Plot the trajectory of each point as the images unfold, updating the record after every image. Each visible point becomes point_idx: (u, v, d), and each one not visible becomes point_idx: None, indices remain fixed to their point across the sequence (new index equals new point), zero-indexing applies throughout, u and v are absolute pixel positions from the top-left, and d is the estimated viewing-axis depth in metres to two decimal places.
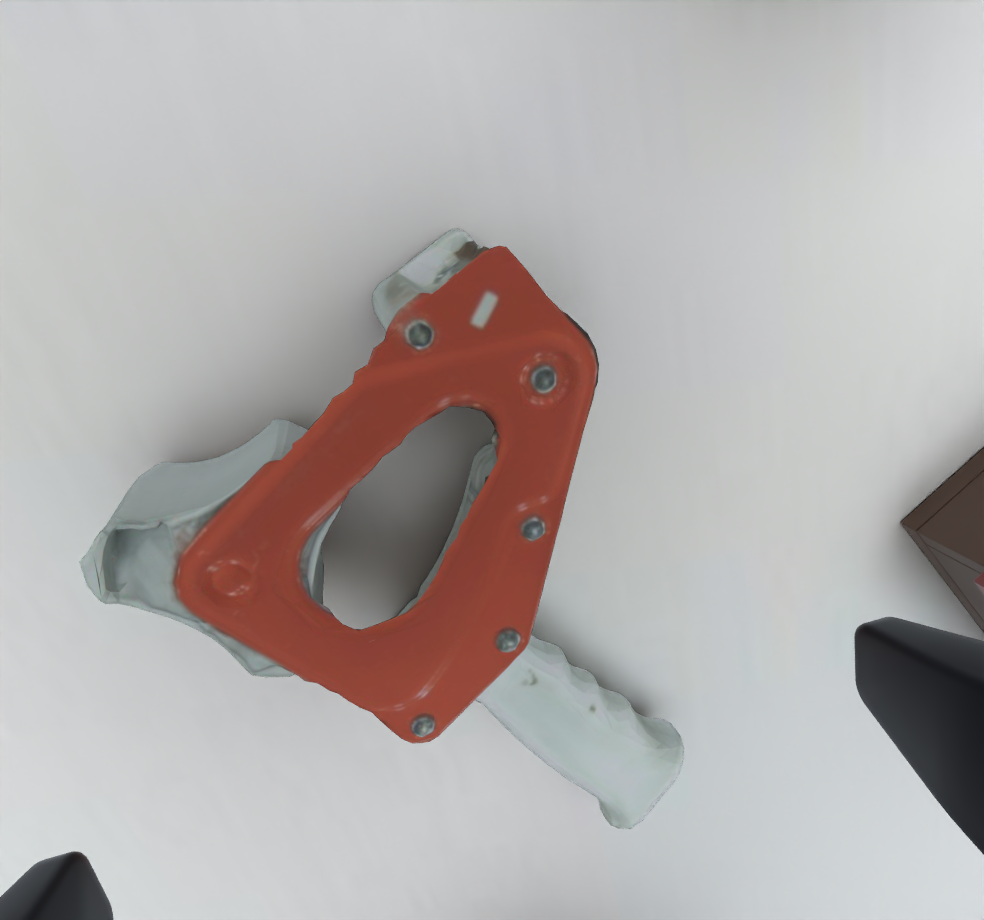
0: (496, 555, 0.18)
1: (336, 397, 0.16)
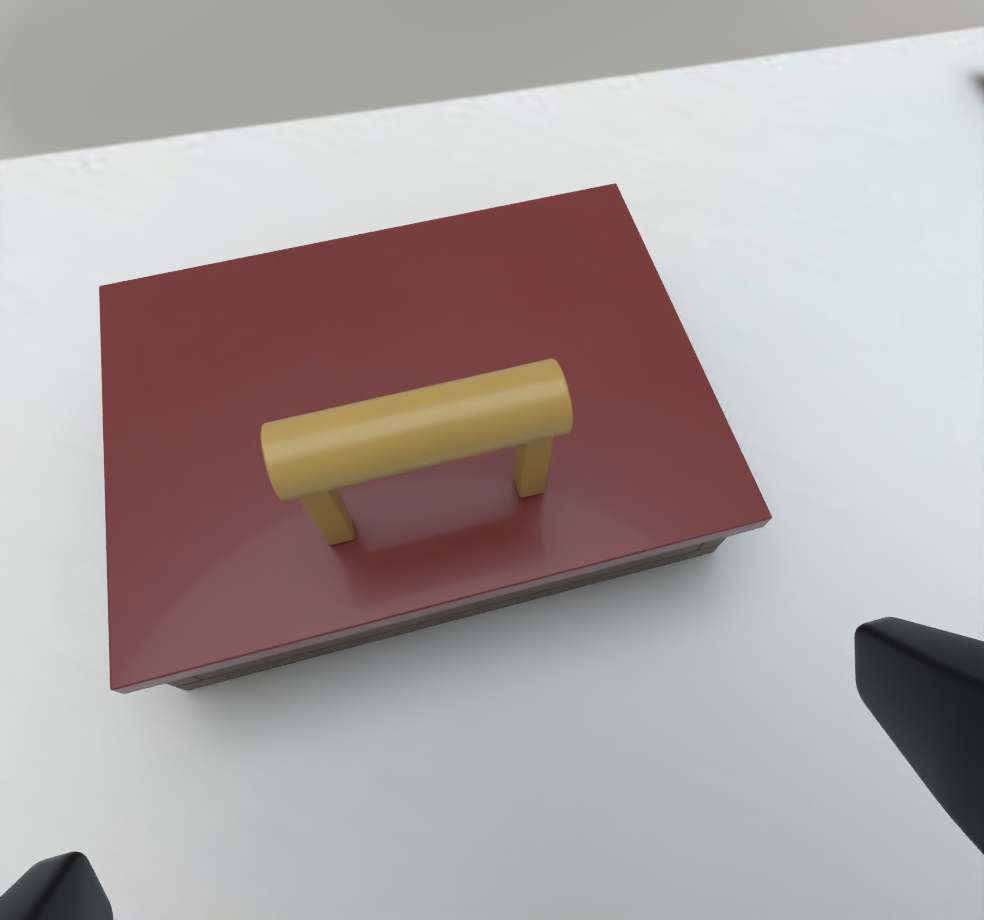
0: None
1: None
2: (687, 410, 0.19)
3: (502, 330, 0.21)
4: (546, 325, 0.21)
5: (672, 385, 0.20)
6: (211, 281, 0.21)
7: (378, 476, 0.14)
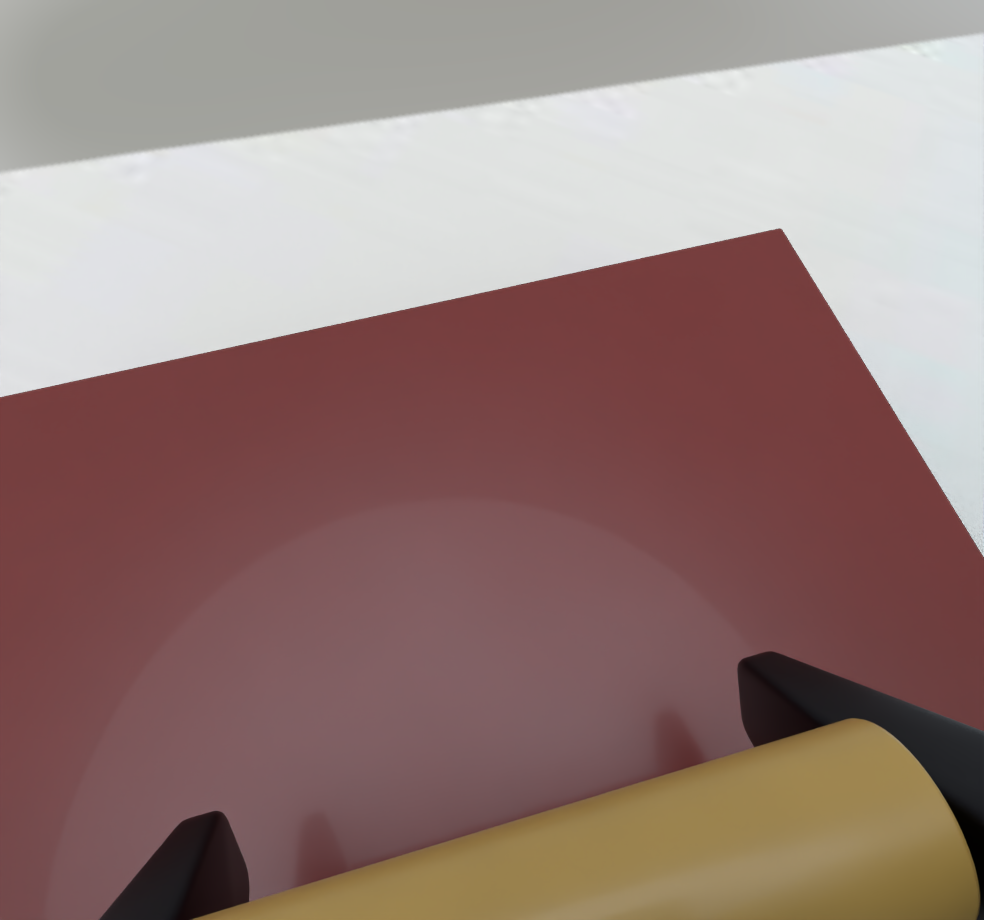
0: None
1: None
2: (981, 656, 0.10)
3: (622, 493, 0.12)
4: (698, 483, 0.12)
5: (942, 604, 0.11)
6: (117, 403, 0.13)
7: None
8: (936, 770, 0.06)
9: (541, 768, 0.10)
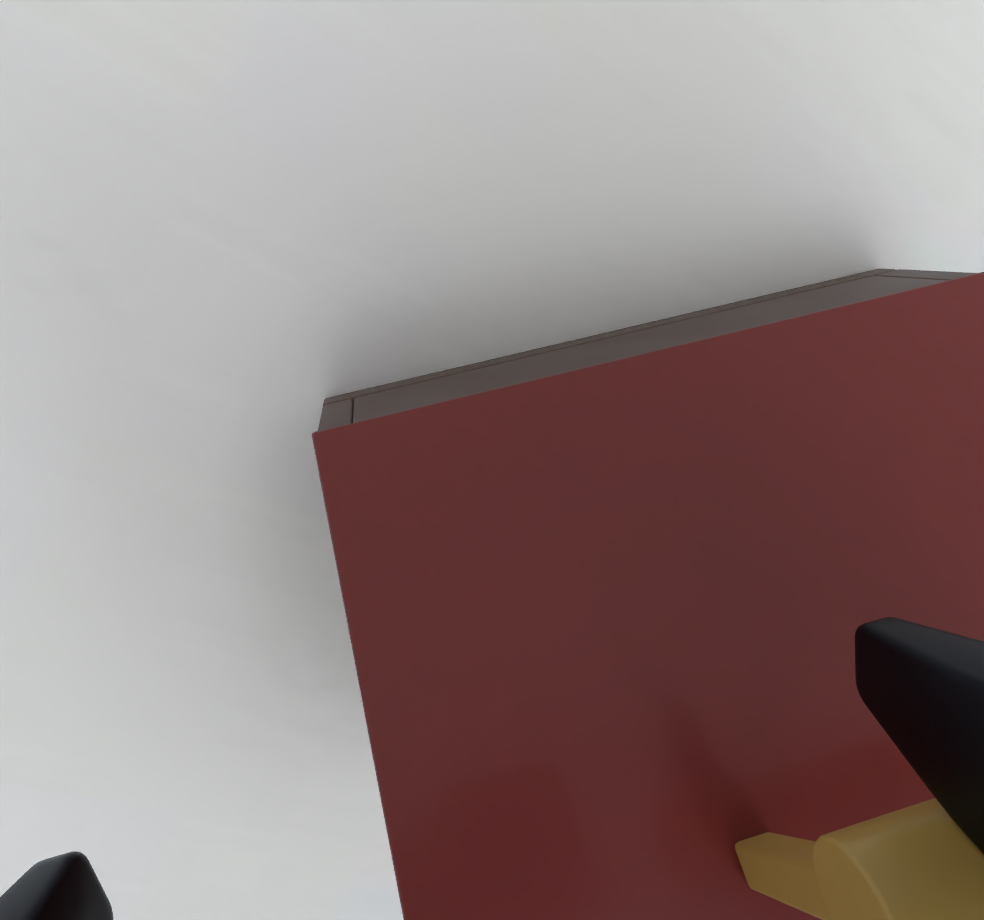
0: None
1: None
2: None
3: (916, 502, 0.14)
4: (977, 492, 0.14)
5: None
6: (474, 424, 0.15)
7: None
8: None
9: None
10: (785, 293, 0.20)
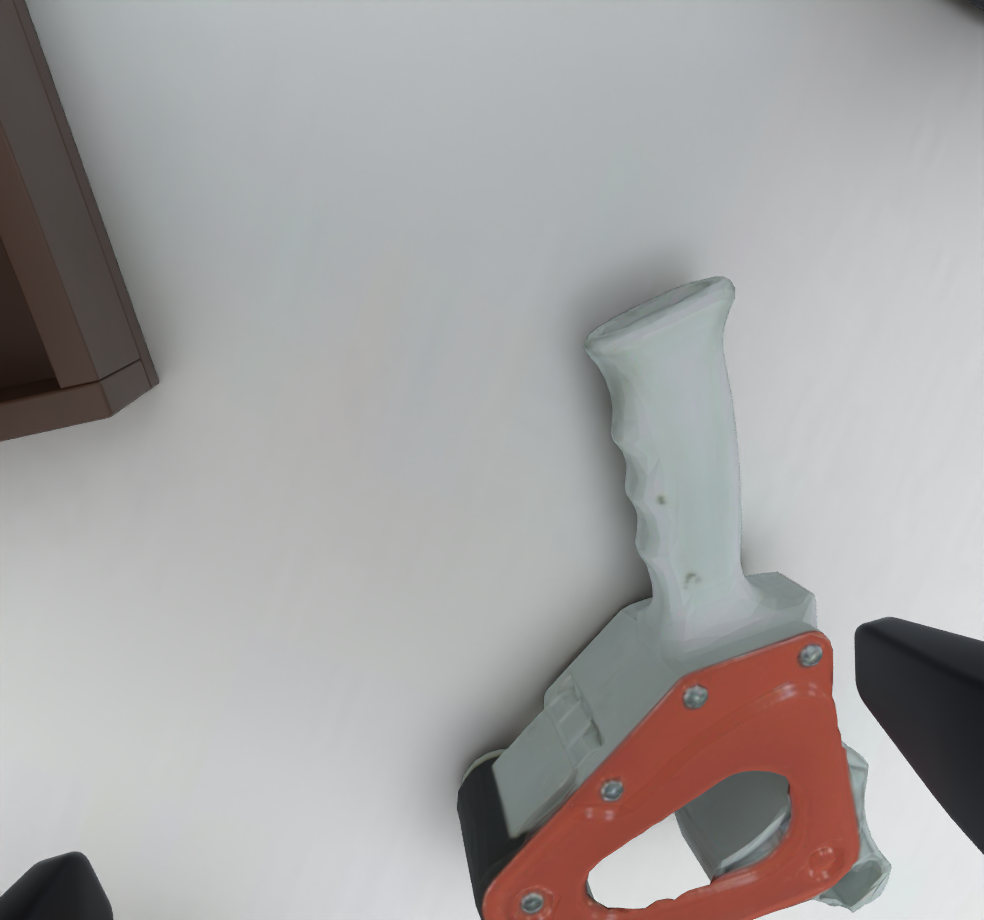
0: (653, 784, 0.19)
1: None
2: None
3: None
4: None
5: None
6: None
7: None
8: None
9: None
10: None
